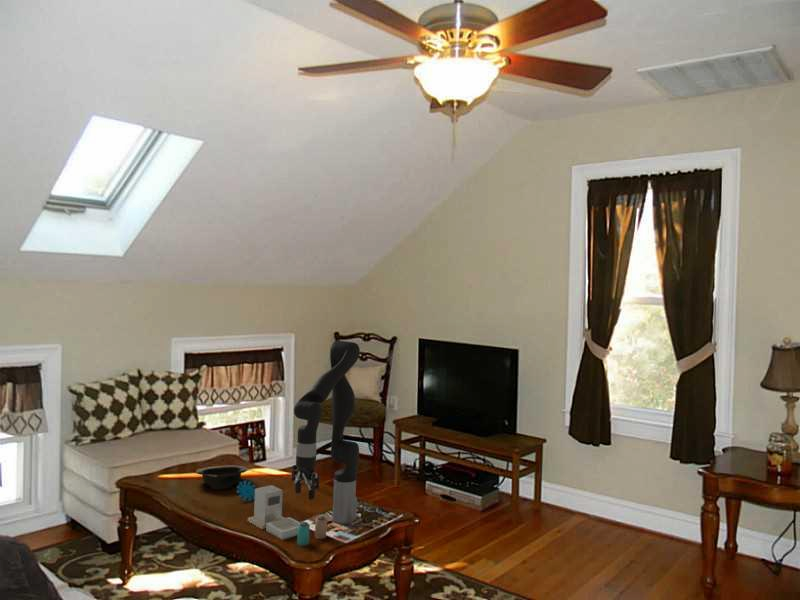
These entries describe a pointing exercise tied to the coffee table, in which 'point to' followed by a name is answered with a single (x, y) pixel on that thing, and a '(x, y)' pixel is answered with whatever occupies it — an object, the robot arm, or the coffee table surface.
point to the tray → (283, 528)
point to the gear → (246, 490)
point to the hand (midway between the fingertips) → (304, 496)
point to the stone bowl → (222, 476)
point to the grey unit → (267, 506)
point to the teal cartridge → (303, 534)
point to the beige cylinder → (320, 527)
